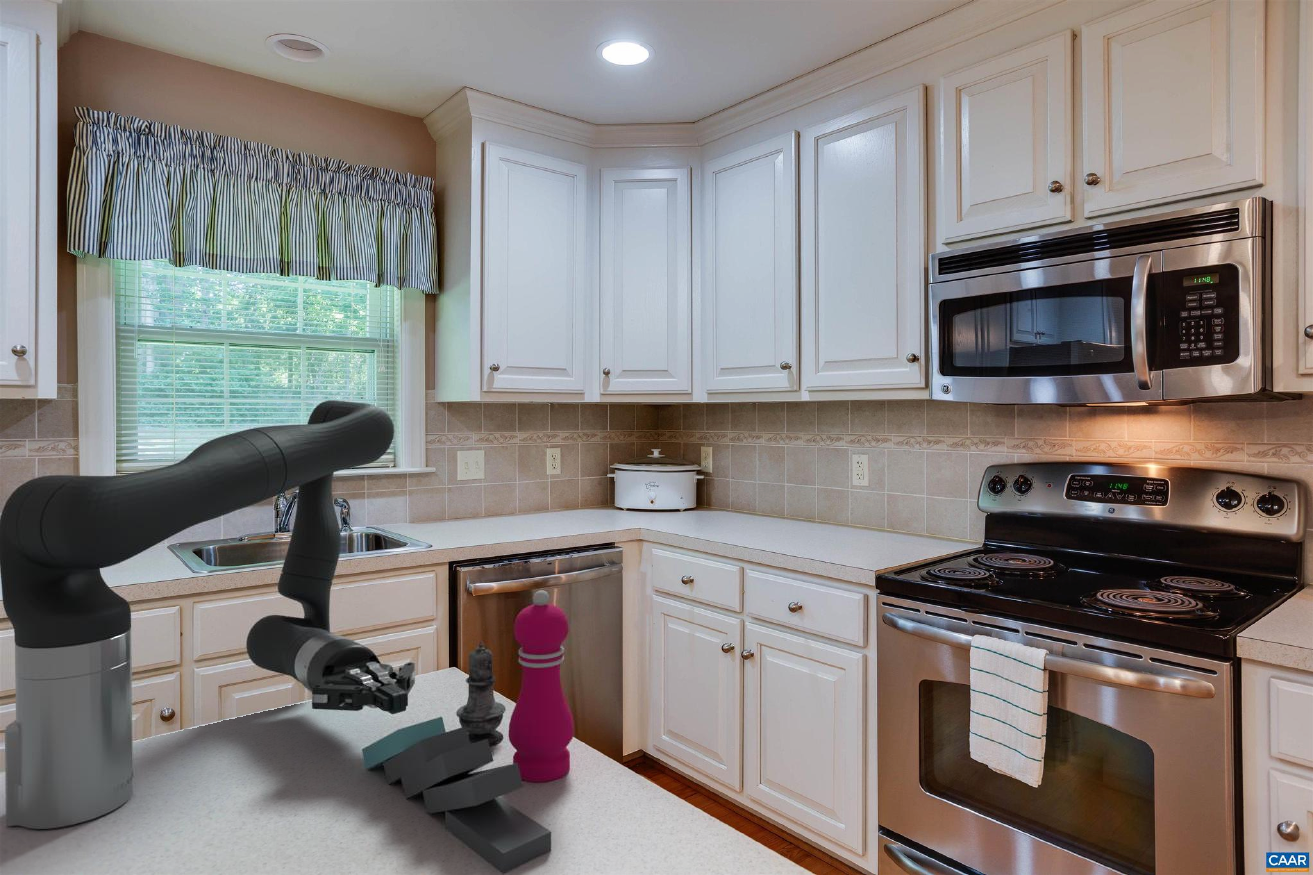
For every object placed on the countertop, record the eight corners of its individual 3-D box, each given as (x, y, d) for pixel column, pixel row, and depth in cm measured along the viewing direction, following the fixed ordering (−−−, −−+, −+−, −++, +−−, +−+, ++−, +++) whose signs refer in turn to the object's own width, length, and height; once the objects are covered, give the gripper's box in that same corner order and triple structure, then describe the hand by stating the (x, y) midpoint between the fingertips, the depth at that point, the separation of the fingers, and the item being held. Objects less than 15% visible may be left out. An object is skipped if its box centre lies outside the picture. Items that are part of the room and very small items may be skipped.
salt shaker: (477, 753, 87) (477, 651, 87) (446, 741, 91) (445, 642, 91) (515, 737, 92) (515, 640, 92) (484, 725, 96) (483, 632, 96)
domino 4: (422, 790, 74) (471, 779, 68) (467, 774, 78) (517, 762, 71) (426, 813, 74) (476, 805, 67) (472, 796, 77) (523, 787, 71)
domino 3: (400, 776, 78) (441, 753, 71) (445, 761, 81) (487, 738, 75) (405, 798, 77) (447, 777, 71) (450, 782, 80) (493, 760, 74)
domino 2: (383, 763, 81) (420, 740, 75) (426, 749, 84) (465, 726, 78) (387, 784, 80) (425, 762, 74) (431, 769, 83) (471, 747, 77)
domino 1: (361, 749, 84) (398, 729, 78) (403, 736, 88) (442, 716, 81) (365, 769, 83) (403, 750, 77) (408, 755, 87) (446, 736, 81)
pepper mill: (587, 765, 85) (587, 588, 84) (545, 791, 78) (544, 600, 78) (538, 750, 88) (538, 581, 88) (494, 774, 82) (494, 592, 82)
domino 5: (445, 810, 71) (503, 853, 64) (491, 792, 75) (551, 831, 67) (445, 833, 71) (503, 878, 64) (491, 814, 75) (551, 855, 67)
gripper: (280, 649, 90) (340, 684, 78) (386, 628, 100) (453, 656, 88) (281, 711, 90) (340, 756, 78) (386, 685, 100) (454, 720, 88)
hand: (400, 703), depth 83 cm, fingers closed
